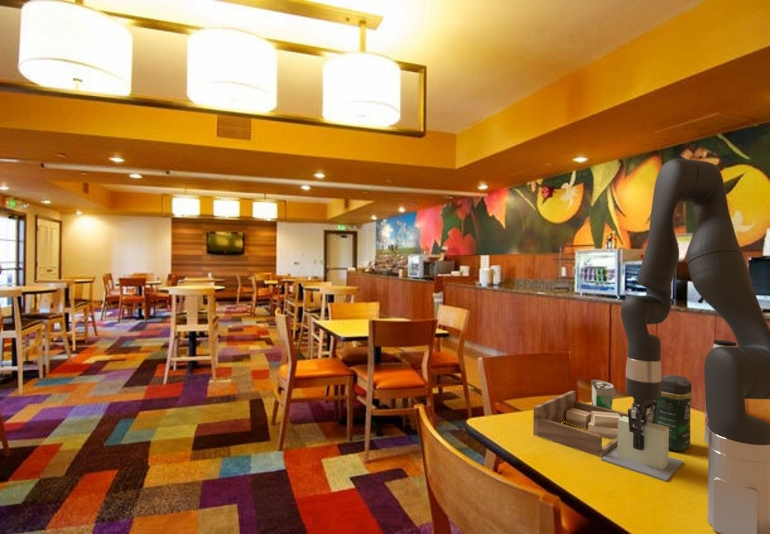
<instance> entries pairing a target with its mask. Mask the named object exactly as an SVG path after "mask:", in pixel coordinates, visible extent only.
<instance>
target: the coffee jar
mask: <svg viewBox="0 0 770 534" xmlns="http://www.w3.org/2000/svg"><path fill="white" fill-rule="evenodd" d="M692 385H693V384H692V382H691V381H690V380H689V379H688V378H687V377H685V376H682V375H676V374H669V375H665V376H662V385H661V398H660V399H659V400H655V401H657V409H656V420H655V422H656V423H655V424H658V425H662V426H666V427H669V444H668V451H670V450H671V451H677V452H682V451H684V450H687V449H689V447H690V445H691V410H692V409H691V406H692V405H691V404H692V394H693V393H692Z"/></svg>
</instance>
